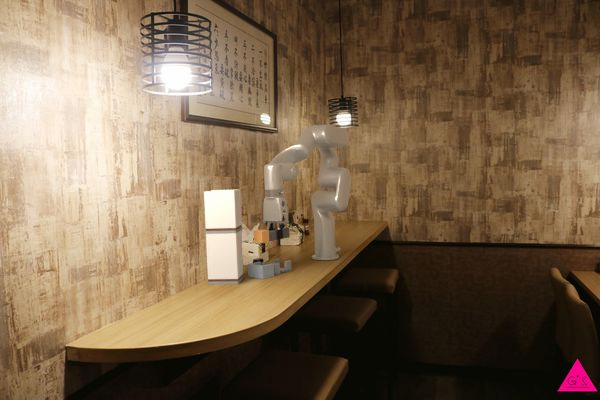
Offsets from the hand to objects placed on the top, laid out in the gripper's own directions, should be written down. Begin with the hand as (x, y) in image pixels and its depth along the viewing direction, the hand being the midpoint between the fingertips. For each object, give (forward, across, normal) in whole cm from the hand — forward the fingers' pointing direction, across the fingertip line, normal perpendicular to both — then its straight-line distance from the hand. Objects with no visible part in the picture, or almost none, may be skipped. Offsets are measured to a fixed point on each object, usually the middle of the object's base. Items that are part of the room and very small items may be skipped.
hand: (275, 238), depth 210 cm
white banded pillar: (+14, +6, +23) cm, 27 cm away
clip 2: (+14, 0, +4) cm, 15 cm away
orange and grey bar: (0, 0, +2) cm, 2 cm away
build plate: (+15, +13, -2) cm, 20 cm away
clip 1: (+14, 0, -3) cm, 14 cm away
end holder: (+14, 0, +9) cm, 17 cm away
